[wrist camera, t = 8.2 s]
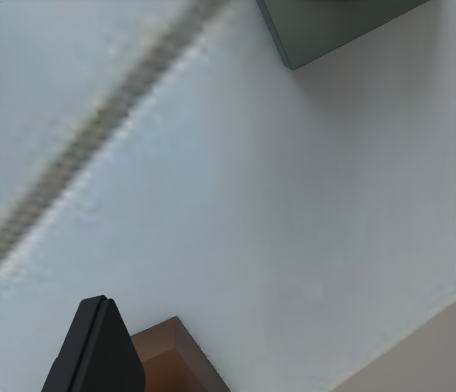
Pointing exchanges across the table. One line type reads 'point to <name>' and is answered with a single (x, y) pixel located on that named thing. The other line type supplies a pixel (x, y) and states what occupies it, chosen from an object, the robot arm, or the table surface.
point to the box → (324, 24)
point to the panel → (175, 360)
